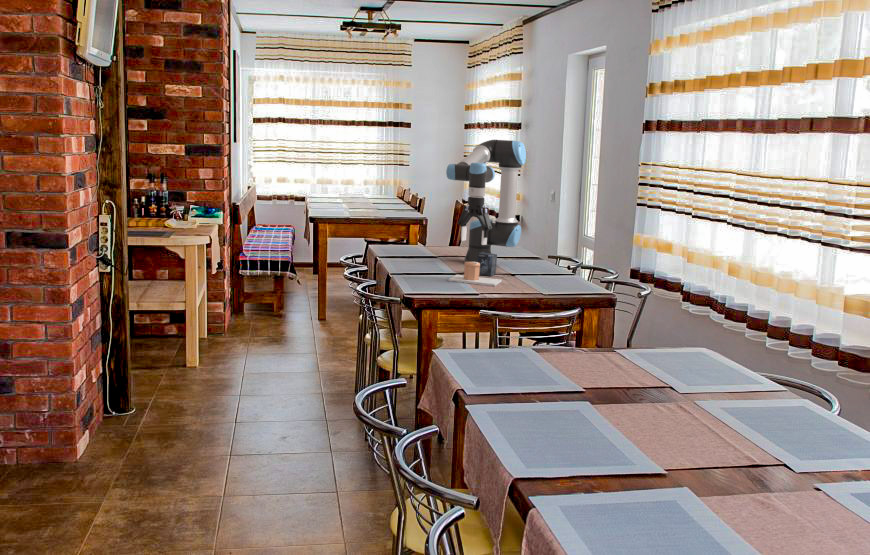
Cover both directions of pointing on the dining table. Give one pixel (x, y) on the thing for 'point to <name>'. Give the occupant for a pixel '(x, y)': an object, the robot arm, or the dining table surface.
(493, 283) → the white board with peg
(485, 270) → the box
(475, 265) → the peach block
